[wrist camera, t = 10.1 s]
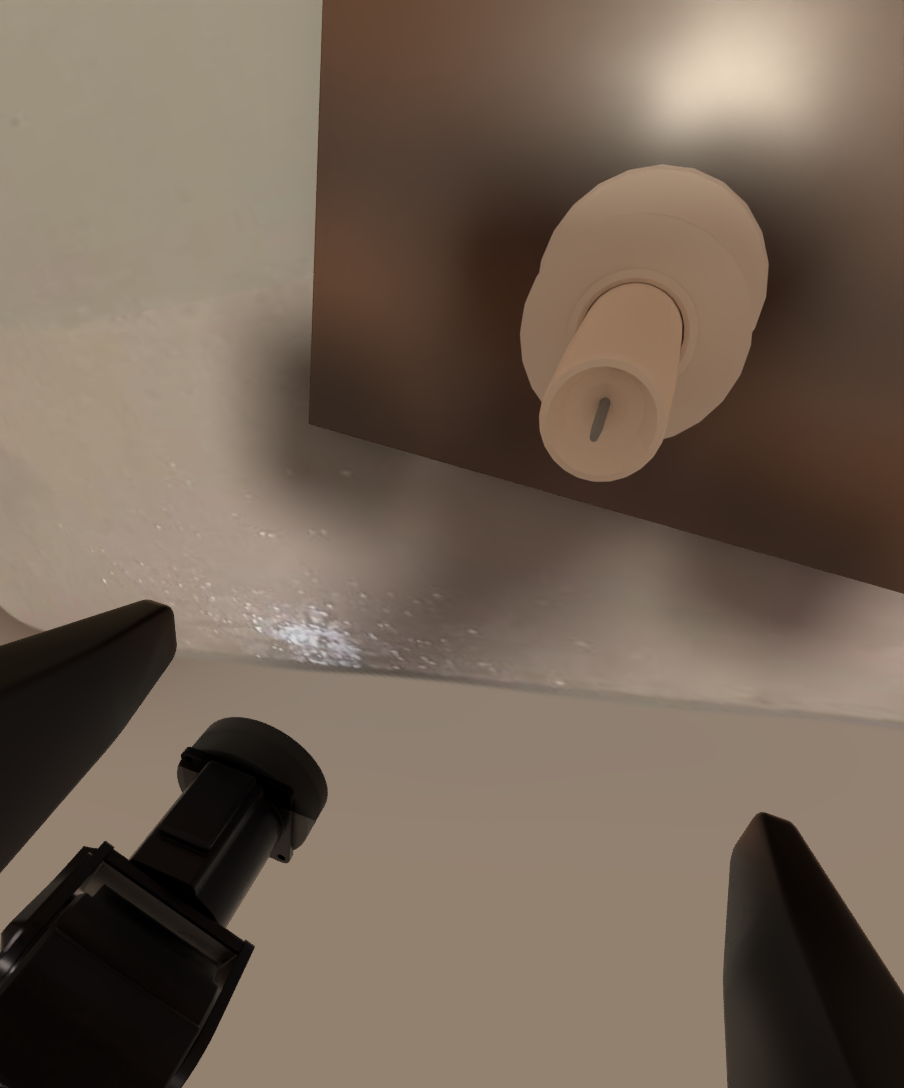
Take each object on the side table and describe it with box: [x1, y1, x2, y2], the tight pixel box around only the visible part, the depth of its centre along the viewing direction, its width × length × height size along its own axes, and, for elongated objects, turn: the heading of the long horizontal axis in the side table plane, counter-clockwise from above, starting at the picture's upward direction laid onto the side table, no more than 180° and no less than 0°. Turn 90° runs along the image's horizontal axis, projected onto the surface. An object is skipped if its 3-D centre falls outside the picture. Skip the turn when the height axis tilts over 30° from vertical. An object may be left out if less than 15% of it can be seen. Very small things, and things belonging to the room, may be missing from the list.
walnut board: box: [309, 0, 904, 593], centre depth 15 cm, size 14×20×1 cm
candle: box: [520, 164, 769, 482], centre depth 11 cm, size 5×5×10 cm
